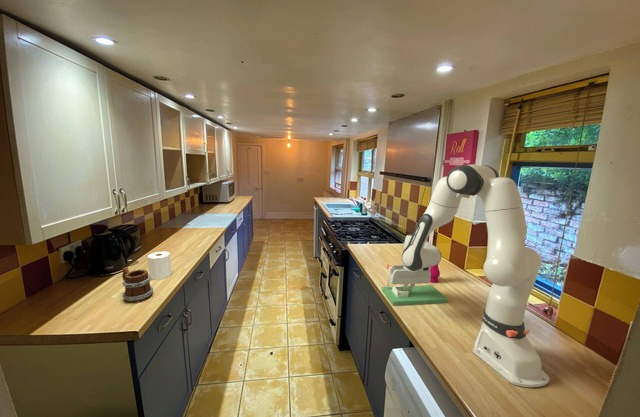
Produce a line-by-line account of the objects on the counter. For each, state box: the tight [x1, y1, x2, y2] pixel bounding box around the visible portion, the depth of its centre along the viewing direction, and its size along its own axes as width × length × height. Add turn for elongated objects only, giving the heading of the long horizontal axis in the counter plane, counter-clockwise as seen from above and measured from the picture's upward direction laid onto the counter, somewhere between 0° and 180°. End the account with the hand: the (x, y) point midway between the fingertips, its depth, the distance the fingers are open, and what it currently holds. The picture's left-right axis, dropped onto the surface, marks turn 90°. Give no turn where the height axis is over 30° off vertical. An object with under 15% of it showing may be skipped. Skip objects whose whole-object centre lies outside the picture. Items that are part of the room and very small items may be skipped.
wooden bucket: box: [121, 267, 154, 304], centre depth 121 cm, size 12×14×15 cm
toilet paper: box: [147, 251, 172, 280], centre depth 142 cm, size 10×10×12 cm
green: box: [381, 263, 449, 306], centre depth 130 cm, size 16×28×14 cm, turn 98°
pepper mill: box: [429, 251, 442, 284], centre depth 148 cm, size 7×7×20 cm
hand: (408, 291), depth 130 cm, fingers closed
